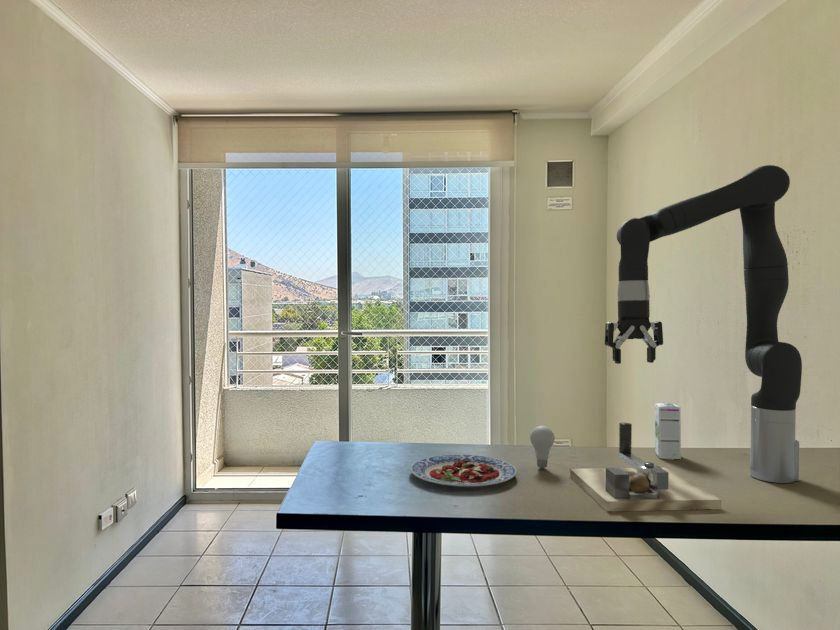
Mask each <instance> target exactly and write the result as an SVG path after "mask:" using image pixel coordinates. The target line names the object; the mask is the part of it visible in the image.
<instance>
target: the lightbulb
mask: <svg viewBox="0 0 840 630" xmlns="http://www.w3.org/2000/svg"><path fill="white" fill-rule="evenodd" d="M555 439H556V438H555V433H554V432H553V430H552V429H551V428H549V427H548V426H546V425H537V426H536V427H534V428H533V429H532V431H531V432H530V436H529V440H530V443H531V445H532V447H533V449H534V452H535V458H536V466H537V467H538V468H539V469H541V470H544V469H545V468H547V467H548V460H549V455H550V451H551V449H552V447H553V446H554V443H555Z"/></svg>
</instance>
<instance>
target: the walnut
mask: <svg viewBox="0 0 840 630" xmlns="http://www.w3.org/2000/svg"><path fill="white" fill-rule="evenodd" d="M629 486H630V489H631V490H632V491H633V492H634V493H646V492H647V491H648V489H649V482H648V480H647V478H646V477H644V476H643V475H639V474H638V475H634V476H632V477H631V478H630V480H629Z"/></svg>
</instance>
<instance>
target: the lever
mask: <svg viewBox="0 0 840 630" xmlns="http://www.w3.org/2000/svg"><path fill="white" fill-rule="evenodd" d="M618 425H619V426H618V427H619V428H618V429H619V432H618V433H619V434H618V437H619V438H618V444H619V445H618V453H619V460H621V461H623V462H624V463H626V464H627V465H629V466H630V468H634V469H635V470H637V475H638V474H639V475H643V476H644V477H646V478H647V479H650V480H651V486H652V487H654V488H655V489H657V490H668V478H669V472H667V471H665V470H664V469H662V468H663V467H661V466H659V465H657V464H655V463H654V462H651V461H645V460H644V459H641V458H640V457H638V456H636V455H635V454H633V453H632V439H633V438H632V437H633V436H632V427H633V426H632V425H633V424H632V423H630V422H619V424H618Z"/></svg>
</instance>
